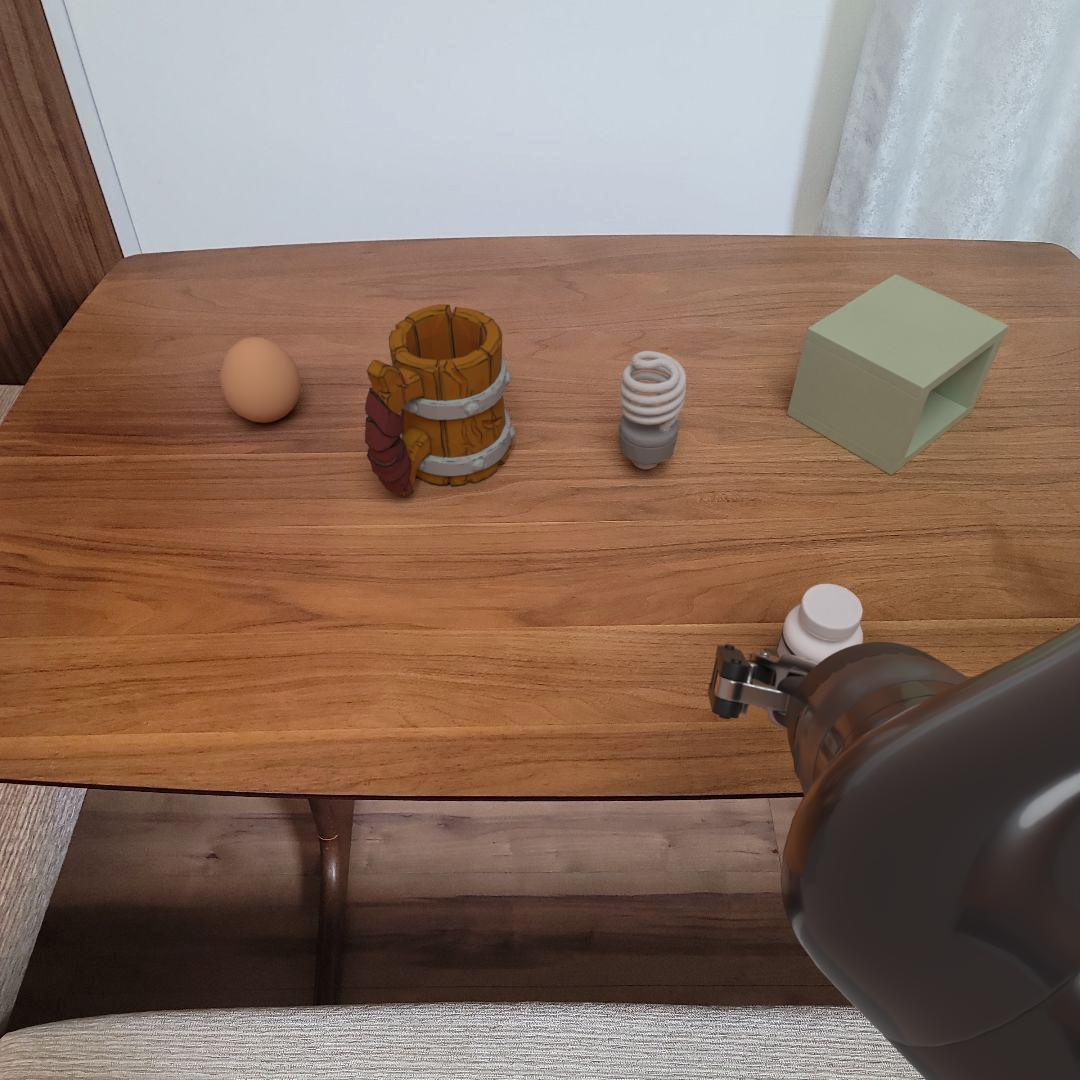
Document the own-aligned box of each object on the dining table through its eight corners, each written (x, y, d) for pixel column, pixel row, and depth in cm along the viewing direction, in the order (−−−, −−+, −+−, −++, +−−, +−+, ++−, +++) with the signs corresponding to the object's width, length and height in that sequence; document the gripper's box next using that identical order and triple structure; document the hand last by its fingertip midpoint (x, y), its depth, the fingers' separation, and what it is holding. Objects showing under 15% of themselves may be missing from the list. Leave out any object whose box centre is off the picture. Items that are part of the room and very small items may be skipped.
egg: (295, 441, 89) (277, 368, 82) (221, 436, 89) (197, 363, 83) (316, 394, 94) (300, 321, 87) (245, 390, 94) (224, 317, 88)
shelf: (972, 411, 91) (1009, 325, 84) (891, 475, 85) (923, 388, 78) (869, 358, 98) (895, 273, 90) (786, 414, 91) (807, 327, 84)
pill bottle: (814, 650, 71) (844, 566, 64) (854, 705, 68) (891, 623, 61) (753, 671, 70) (776, 587, 63) (791, 728, 67) (821, 646, 60)
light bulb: (602, 470, 86) (609, 363, 77) (635, 439, 89) (645, 332, 80) (654, 496, 83) (666, 388, 75) (686, 462, 86) (702, 355, 78)
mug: (536, 437, 89) (535, 300, 78) (430, 541, 80) (412, 402, 69) (446, 398, 93) (433, 264, 82) (336, 493, 84) (305, 355, 73)
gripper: (1132, 702, 33) (999, 647, 48) (728, 614, 35) (727, 589, 51) (1084, 907, 33) (968, 786, 49) (688, 804, 36) (699, 721, 52)
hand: (845, 685), depth 50 cm, fingers open, 8 cm apart
